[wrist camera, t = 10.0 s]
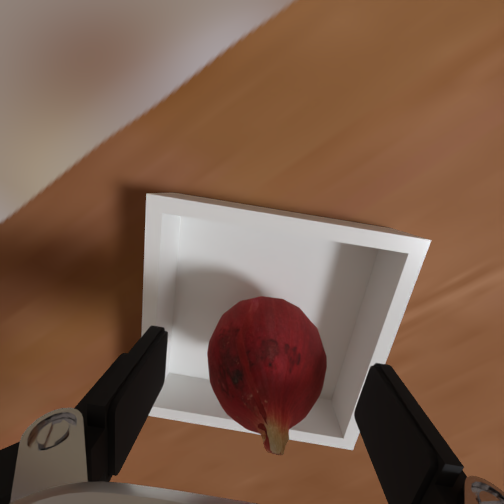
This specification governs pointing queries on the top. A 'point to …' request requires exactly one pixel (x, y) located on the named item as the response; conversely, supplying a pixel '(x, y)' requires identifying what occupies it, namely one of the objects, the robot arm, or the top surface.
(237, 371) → the onion
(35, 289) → the top surface
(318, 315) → the box
